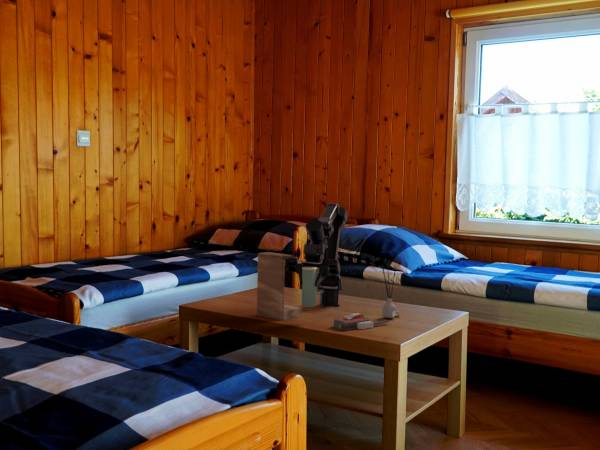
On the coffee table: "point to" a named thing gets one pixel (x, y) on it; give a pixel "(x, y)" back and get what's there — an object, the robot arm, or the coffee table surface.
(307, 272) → the tea tin
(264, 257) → the nook
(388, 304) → the reed diffuser
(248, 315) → the coffee table surface
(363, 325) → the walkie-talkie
